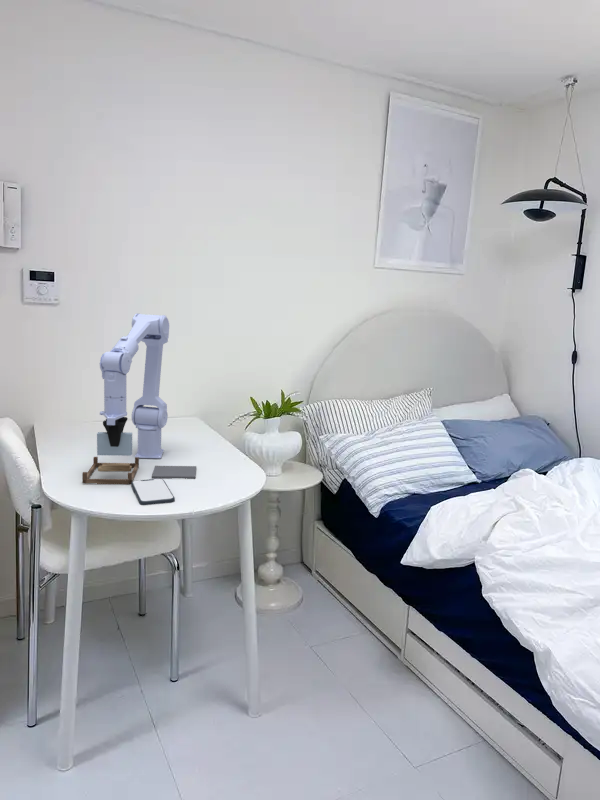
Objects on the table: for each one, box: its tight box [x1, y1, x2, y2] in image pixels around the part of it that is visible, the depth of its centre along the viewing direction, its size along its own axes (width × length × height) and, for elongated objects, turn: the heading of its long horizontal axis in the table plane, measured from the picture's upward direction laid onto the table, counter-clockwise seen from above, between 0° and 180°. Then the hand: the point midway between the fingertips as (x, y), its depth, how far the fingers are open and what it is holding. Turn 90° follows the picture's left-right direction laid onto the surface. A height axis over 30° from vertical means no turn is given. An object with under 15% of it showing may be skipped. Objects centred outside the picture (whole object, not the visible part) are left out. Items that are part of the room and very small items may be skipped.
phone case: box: [130, 478, 176, 506], centre depth 152 cm, size 9×2×16 cm
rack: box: [81, 456, 140, 485], centre depth 164 cm, size 16×13×3 cm
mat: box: [151, 465, 197, 480], centre depth 169 cm, size 10×12×1 cm
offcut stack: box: [97, 462, 133, 472], centre depth 169 cm, size 3×9×2 cm, turn 98°
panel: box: [96, 431, 133, 457], centre depth 161 cm, size 2×9×6 cm, turn 98°
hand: (115, 445), depth 161 cm, fingers closed on panel, 2 cm apart
